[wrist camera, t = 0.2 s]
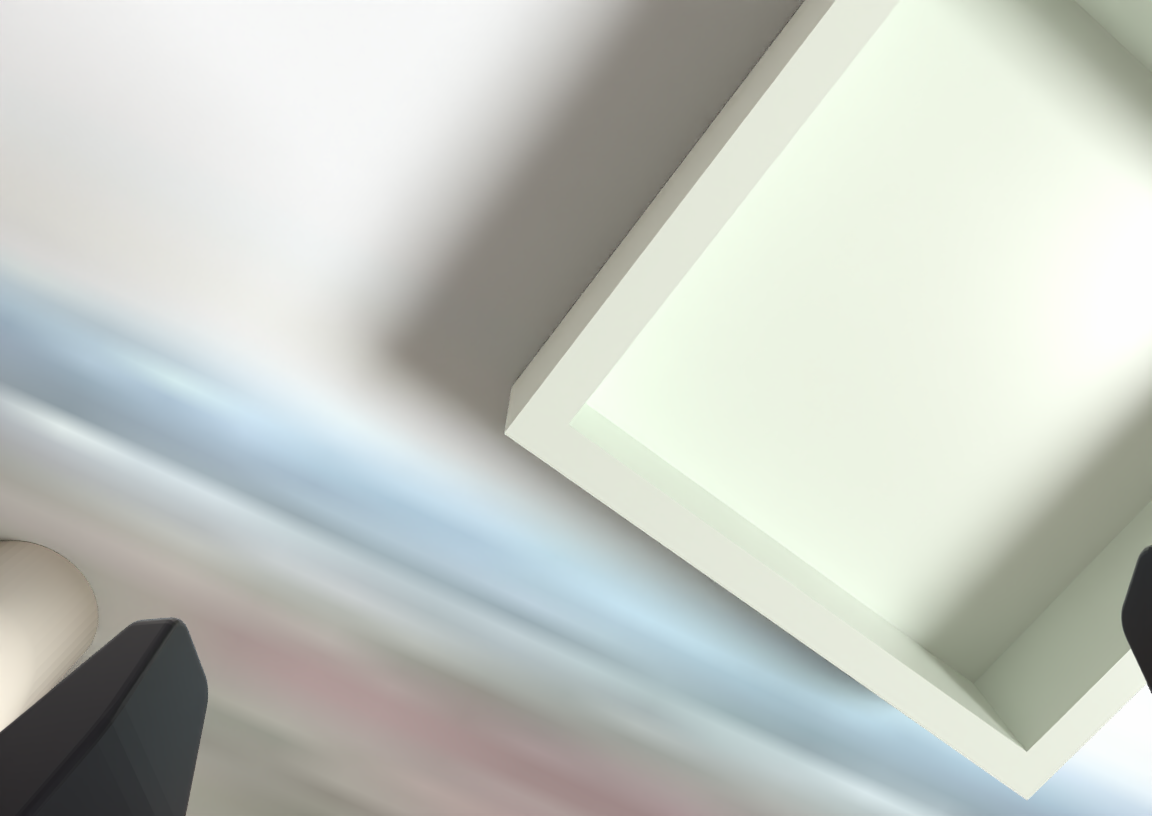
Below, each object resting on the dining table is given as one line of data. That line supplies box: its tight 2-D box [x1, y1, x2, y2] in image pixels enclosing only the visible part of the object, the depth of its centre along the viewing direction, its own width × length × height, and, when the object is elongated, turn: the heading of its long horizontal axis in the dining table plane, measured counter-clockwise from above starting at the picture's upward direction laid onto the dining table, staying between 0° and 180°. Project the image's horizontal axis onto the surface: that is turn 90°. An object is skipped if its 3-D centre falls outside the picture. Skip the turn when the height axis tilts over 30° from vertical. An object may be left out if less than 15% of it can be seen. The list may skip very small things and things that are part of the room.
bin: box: [504, 0, 1152, 800], centre depth 22 cm, size 16×16×4 cm
